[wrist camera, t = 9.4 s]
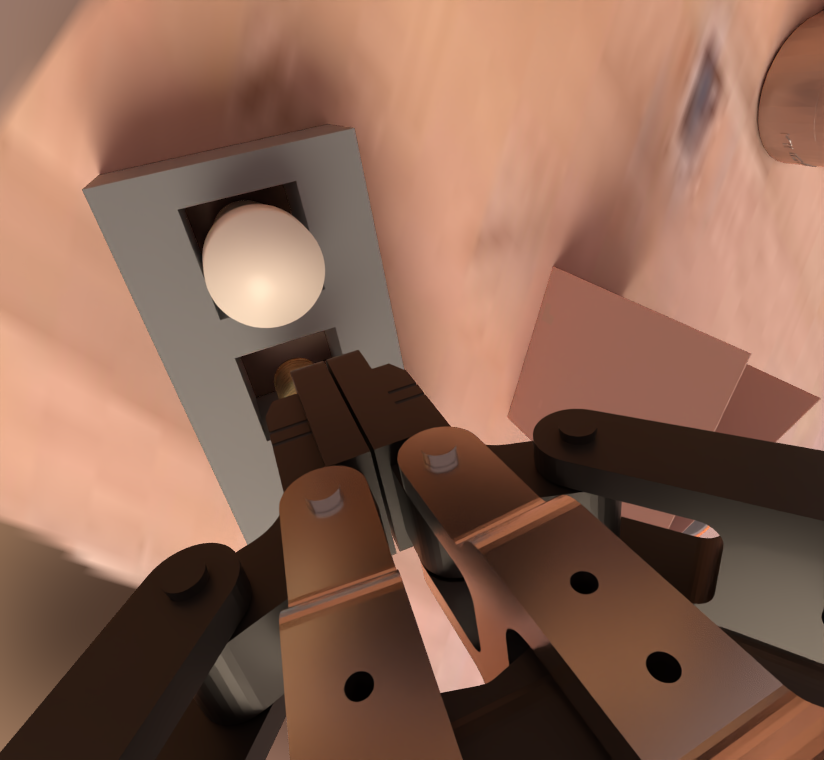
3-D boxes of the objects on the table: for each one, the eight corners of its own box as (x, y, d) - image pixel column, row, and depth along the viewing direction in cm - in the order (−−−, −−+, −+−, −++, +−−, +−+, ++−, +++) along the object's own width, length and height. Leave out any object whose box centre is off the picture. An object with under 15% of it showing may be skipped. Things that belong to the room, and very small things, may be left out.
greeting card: (514, 423, 41) (660, 565, 28) (455, 368, 37) (596, 506, 24) (623, 311, 40) (824, 407, 27) (575, 243, 36) (786, 318, 23)
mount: (98, 175, 25) (82, 189, 21) (328, 124, 27) (354, 128, 23) (251, 518, 36) (261, 573, 32) (404, 460, 38) (431, 503, 34)
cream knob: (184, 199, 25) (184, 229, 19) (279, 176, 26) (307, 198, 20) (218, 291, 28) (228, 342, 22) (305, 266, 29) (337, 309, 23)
